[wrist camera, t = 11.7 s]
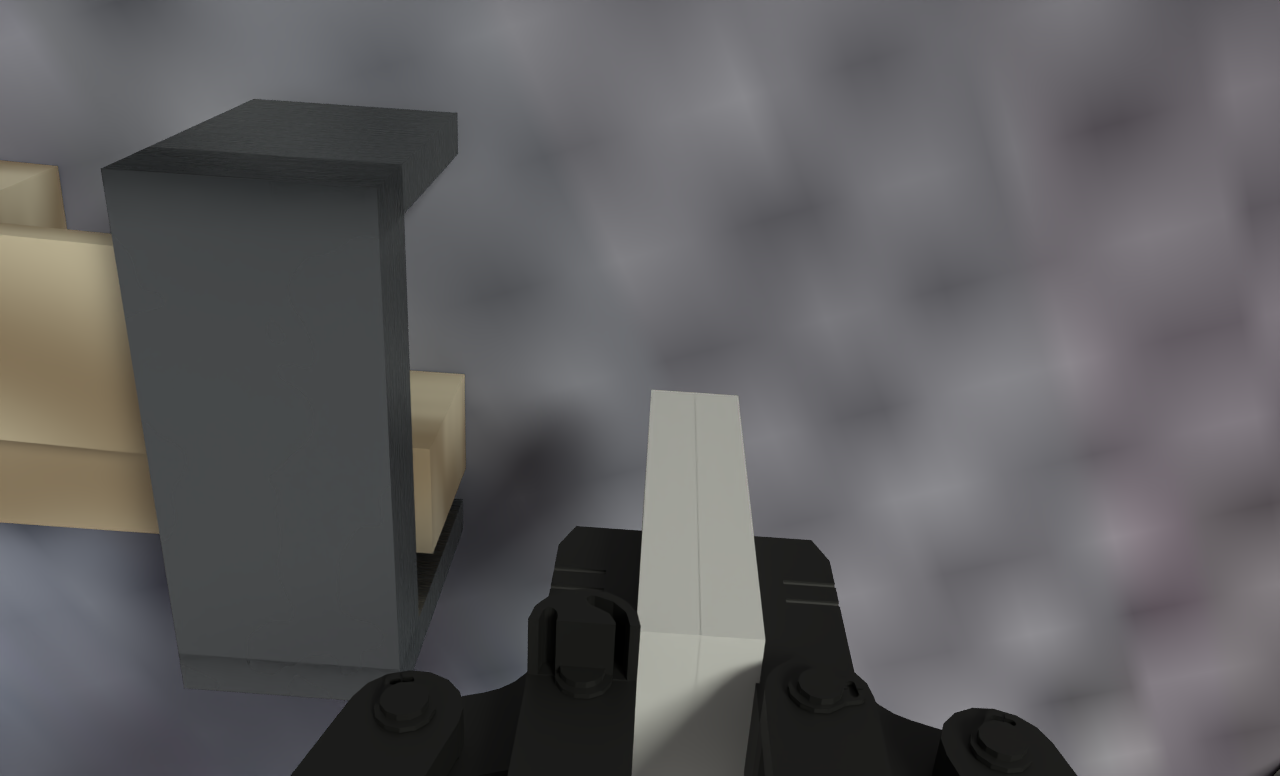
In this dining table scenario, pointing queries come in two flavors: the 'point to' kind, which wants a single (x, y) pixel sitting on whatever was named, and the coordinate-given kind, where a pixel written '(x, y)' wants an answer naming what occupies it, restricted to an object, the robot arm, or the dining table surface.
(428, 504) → the bar
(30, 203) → the tongs jaw
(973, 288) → the dining table surface
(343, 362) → the collar
